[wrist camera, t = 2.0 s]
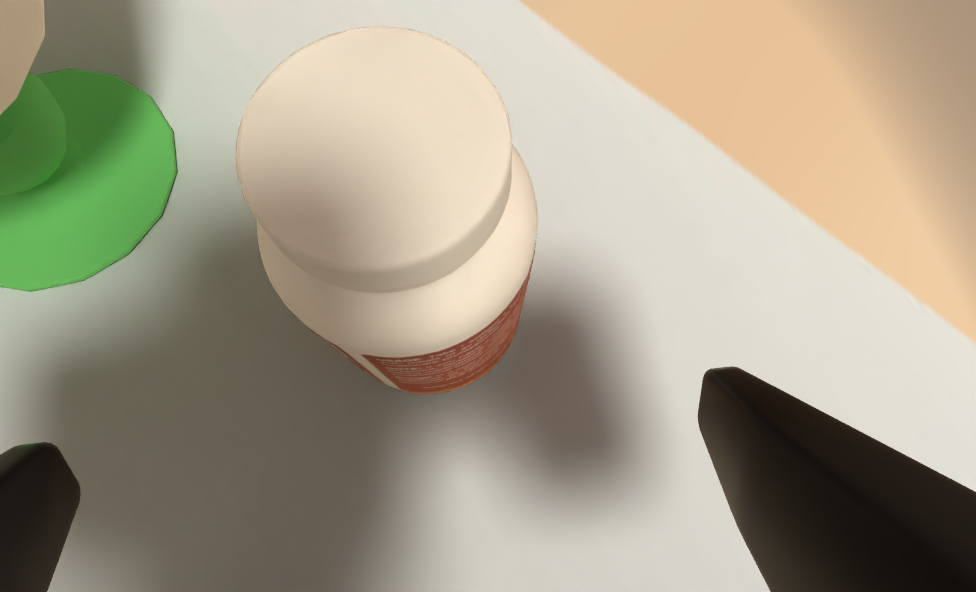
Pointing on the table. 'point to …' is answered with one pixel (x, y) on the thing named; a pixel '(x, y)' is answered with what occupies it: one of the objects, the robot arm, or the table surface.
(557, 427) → the table surface
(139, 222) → the cup
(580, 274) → the table surface
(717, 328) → the table surface
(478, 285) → the pill bottle
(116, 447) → the table surface
